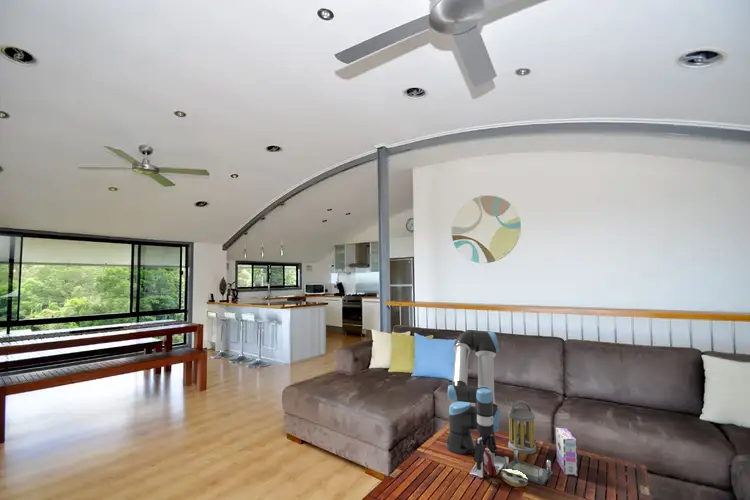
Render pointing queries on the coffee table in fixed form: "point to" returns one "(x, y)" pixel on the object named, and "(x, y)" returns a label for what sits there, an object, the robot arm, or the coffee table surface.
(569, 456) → the candy box
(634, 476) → the coffee table surface
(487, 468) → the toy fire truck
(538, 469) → the chassis
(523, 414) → the lantern
